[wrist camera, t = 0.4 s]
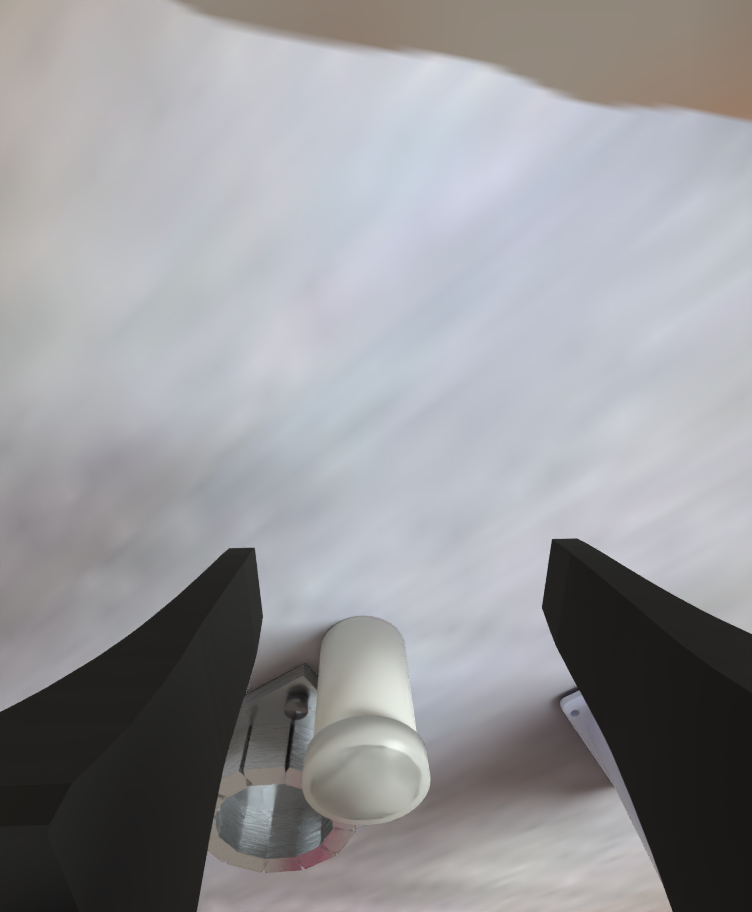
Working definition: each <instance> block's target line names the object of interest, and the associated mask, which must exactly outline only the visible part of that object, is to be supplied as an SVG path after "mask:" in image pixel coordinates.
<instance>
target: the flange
mask: <svg viewBox="0 0 752 912" xmlns="http://www.w3.org/2000/svg"><path fill="white" fill-rule="evenodd" d="M317 687H318V677H317V676H316V675H315V674H314V673H313V672H312V671H311V670H310V669H309V668H308V667H307V665H306V664H303V665H301V666H299V667H297V668H295V669H293V670H291V671H290V672H288V673H286V674H284V675H282V676H280V677H278V678H276V679H275V680H273V681H271V682H269V683H267V684H265V685H263V686H261V687H260V688H258V689H256V690H254V691H252V692H250V693H248V694H246V695H245V696H244V699H243V703H242V706H241V709H240V713H239V716H238V719H237V723H236V726H235V729H234V732H233V736H232V739H231V742H230V746H229V749H228V753H227V757H226V761H225V765H224V769H223V773H222V778H221V783H220V788H219V793H218V798H217V803H216V808H215V813H214V818H213V824H212V829H211V834H210V840H209V845H208V850H207V851H209V852H210V853H211V854H213V855H214V856H215V857H217V858H218V859H219V860H221V861H222V862H224V861H227V864H229V865H233V866H237V867H241V868H245V869H249V870H253V871H257V872H262V870H263V869H265V873H269V872H282V871H295V870H302V866H303V867H304V868H305V869H307V868H309V867H311V866H313V865H316V864H318V863H320V862H322V861H325V860H327V859H329V858H331V857H334V856H336V853H339V852H340V851H341V850H342V848H343V847H344V846H345V844H346V843H347V842H348V841H349V839H350V838H351V837H352V835H353V834H354V833H355V829H356V825H350V824H344V823H340V822H336V821H333V820H331V819H328V818H326V817H324V816H323V815H321V814H319V813H318V812H317V811H315V810H314V809H313V808H312V807H311V806H310V805H309V803H308V802H307V801H306V799H305V797H304V794H303V790H302V776H303V766H304V756H305V751H306V749H307V746H308V744H309V743H310V741H311V740H312V739H313V736H314V724H315V712H316V699H317Z"/></svg>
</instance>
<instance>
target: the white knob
mask: <svg viewBox="0 0 752 912" xmlns="http://www.w3.org/2000/svg"><path fill="white" fill-rule="evenodd" d="M430 780H431V779H430V771H429V764H428V757H427V751H426V747H425V744H424V742H423V740H422V738H421V737H420V736H419V734H418V733H417V732H416V724H415V717H414V709H413V702H412V694H411V687H410V680H409V672H408V665H407V657H406V650H405V643H404V639H403V637H402V635H401V633H400V632H399V630H398V629H397V628H396V627H395V626H393V625H392V624H391V623H389V622H387V621H385V620H383V619H380V618H376V617H371V616H358V617H352V618H348V619H345V620H343V621H341V622H339V623H337V624H336V625H334V626H333V627H332V628H331V629H330V630H329V631H328V632H327V633H326V635H325V636H324V638H323V640H322V643H321V650H320V663H319V675H318V687H317V699H316V712H315V724H314V736H313V739H312V740H311V741H310V743H309V744H308V746H307V749H306V751H305V756H304V766H303V776H302V790H303V794H304V797H305V799H306V801H307V802H308V803H309V805H310V806H311V807H312V808H313V809H314V810H315V811H317V812H318V813H319V814H321V815H323V816H324V817H326V818H328V819H331V820H333V821H336V822H340V823H344V824H350V825H375V824H381V823H386V822H389V821H392V820H395V819H398V818H400V817H402V816H404V815H406V814H408V813H409V812H411V811H412V810H413V809H415V808H416V807H417V806H418V805H419V804H420V803H421V802H422V801H423V799H424V798H425V796H426V795H427V793H428V790H429V787H430Z"/></svg>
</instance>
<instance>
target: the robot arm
mask: <svg viewBox="0 0 752 912" xmlns="http://www.w3.org/2000/svg"><path fill="white" fill-rule="evenodd" d="M542 609H543V612H544V615H545V618H546V621H547V623H548V626H549V629H550V632H551V634H552V637H553V639H554V642H555V645H556V647H557V649H558V651H559V653H560V655H561V656H562V658H563V660H564V662H565V664H566V666H567V668H568V670H569V672H570V674H571V676H572V678H573V679H574V681H575V683H576V685H577V687H578V689H579V691H577V692H575V693H572V694H570V695H568V696H566V697H564V698H563V699H562V700H561V701H560V706H561V708H562V710H563V712H564V713H565V715H566V716H567V718H568V719H569V721H570V722H571V724H572V725H573V727H574V728H575V730H576V731H577V733H578V734H579V735H580V737H581V738H582V740H583V741H584V743H585V744H586V746H587V747H588V749H589V750H590V752H591V753H592V755H593V756H594V758H595V759H596V760H597V762H598V763H599V765H600V766H601V768H602V769H603V771H604V772H605V774H606V775H607V777H608V778H609V780H610V781H611V783H612V784H613V785H614V787H615V789H616V791H617V793H618V795H619V797H620V799H621V801H622V803H623V805H624V807H625V809H626V811H627V813H628V815H629V817H630V819H631V821H632V823H633V825H634V827H635V829H636V831H637V833H638V835H639V837H640V839H641V841H642V843H643V845H644V847H645V849H646V851H647V854H648V856H649V858H650V860H651V862H652V864H653V866H654V868H655V870H656V872H657V874H658V876H659V878H660V880H661V882H662V884H663V886H664V889H665V891H666V894H667V897H668V900H669V903H670V905H671V908H672V911H673V912H752V634H750V633H748V632H746V631H744V630H742V629H740V628H737V627H735V626H733V625H731V624H729V623H727V622H725V621H722V620H720V619H718V618H716V617H714V616H712V615H710V614H708V613H706V612H704V611H702V610H700V609H698V608H697V607H695V606H693V605H691V604H689V603H687V602H685V601H684V600H682V599H680V598H678V597H676V596H674V595H672V594H671V593H669V592H667V591H665V590H664V589H662V588H660V587H658V586H657V585H655V584H653V583H652V582H650V581H648V580H646V579H645V578H643V577H641V576H640V575H638V574H636V573H635V572H633V571H632V570H630V569H628V568H627V567H625V566H623V565H622V564H620V563H618V562H617V561H615V560H614V559H612V558H610V557H609V556H607V555H605V554H604V553H602V552H600V551H599V550H597V549H595V548H594V547H592V546H590V545H588V544H587V543H585V542H583V541H581V540H579V539H552V543H551V550H550V557H549V563H548V570H547V577H546V584H545V590H544V597H543V604H542ZM262 619H263V614H262V605H261V597H260V588H259V580H258V572H257V563H256V555H255V548H229V549H228V550H227V551H226V552H224V553H223V554H222V555H221V556H220V557H219V558H218V559H217V560H216V561H215V562H214V563H213V564H212V565H211V566H210V567H208V568H207V569H206V570H205V571H204V572H203V573H202V574H201V575H200V576H199V577H198V578H197V579H196V580H195V581H193V582H192V583H191V584H190V585H189V586H188V587H187V588H186V589H185V590H184V591H182V592H181V593H180V594H179V595H178V596H177V597H176V598H175V599H173V600H172V601H171V602H170V603H168V604H167V605H166V606H165V607H164V608H162V609H161V610H160V611H159V612H158V613H156V614H155V615H154V616H153V617H151V618H150V619H149V620H148V621H147V622H145V623H144V624H143V625H142V626H140V627H139V628H138V629H136V630H135V631H134V632H132V633H131V634H130V635H128V636H127V637H126V638H124V639H123V640H121V641H120V642H118V643H117V644H116V645H114V646H113V647H111V648H110V649H108V650H107V651H105V652H104V653H102V654H101V655H99V656H98V657H96V658H95V659H93V660H92V661H90V662H88V663H87V664H85V665H83V666H82V667H80V668H78V669H77V670H75V671H73V672H72V673H70V674H68V675H67V676H65V677H63V678H62V679H60V680H58V681H57V682H55V683H53V684H52V685H50V686H48V687H47V688H45V689H43V690H41V691H40V692H38V693H36V694H34V695H32V696H30V697H28V698H26V699H25V700H23V701H21V702H19V703H17V704H15V705H13V706H11V707H9V708H7V709H5V710H3V711H1V712H0V912H197V907H198V901H199V895H200V889H201V884H202V878H203V872H204V867H205V861H206V856H207V850H208V845H209V840H210V834H211V829H212V824H213V818H214V813H215V808H216V803H217V798H218V793H219V788H220V783H221V778H222V773H223V769H224V765H225V761H226V757H227V753H228V749H229V746H230V742H231V739H232V736H233V732H234V729H235V726H236V723H237V719H238V716H239V713H240V709H241V706H242V703H243V699H244V696H245V693H246V689H247V686H248V683H249V679H250V676H251V673H252V669H253V666H254V662H255V659H256V655H257V649H258V644H259V638H260V632H261V625H262Z"/></svg>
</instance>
